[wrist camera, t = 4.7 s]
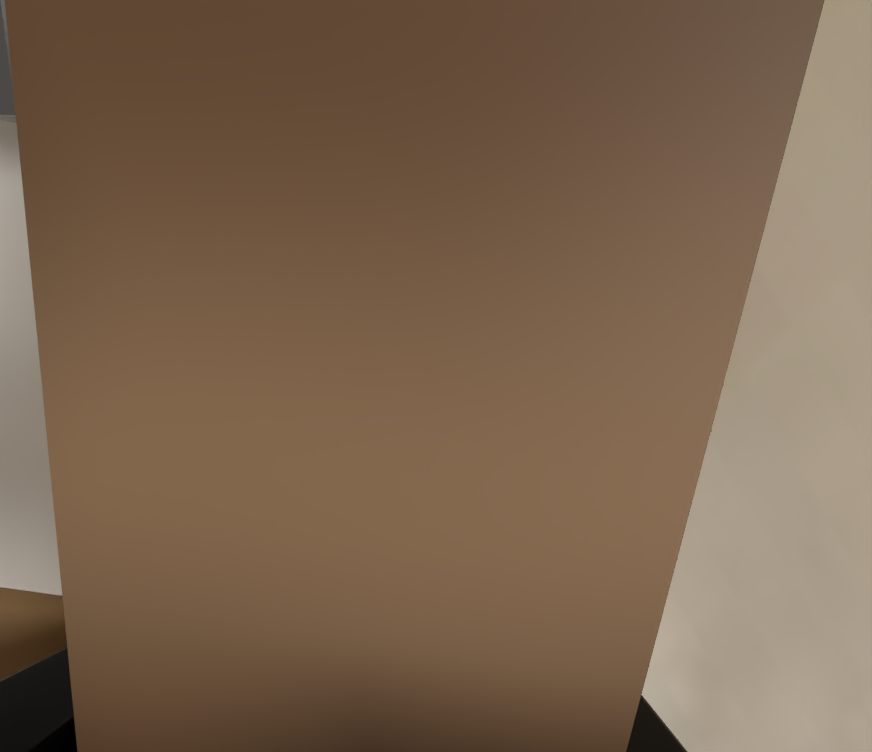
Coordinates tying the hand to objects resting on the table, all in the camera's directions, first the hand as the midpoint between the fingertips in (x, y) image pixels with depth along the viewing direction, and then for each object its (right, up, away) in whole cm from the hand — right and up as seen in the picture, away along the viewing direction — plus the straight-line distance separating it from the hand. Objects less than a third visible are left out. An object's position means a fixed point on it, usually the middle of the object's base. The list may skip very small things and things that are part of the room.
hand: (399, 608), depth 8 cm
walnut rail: (0, +1, +1) cm, 1 cm away
